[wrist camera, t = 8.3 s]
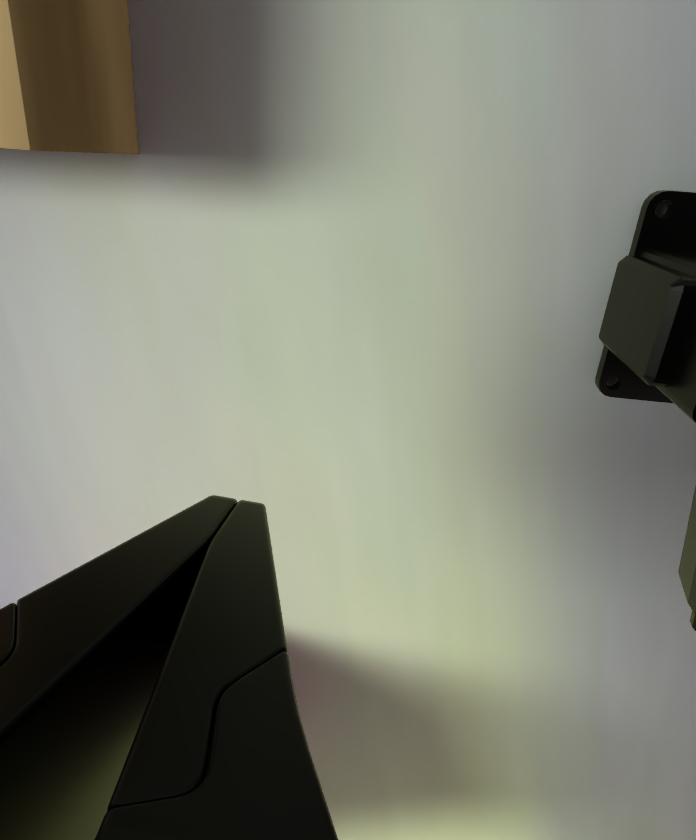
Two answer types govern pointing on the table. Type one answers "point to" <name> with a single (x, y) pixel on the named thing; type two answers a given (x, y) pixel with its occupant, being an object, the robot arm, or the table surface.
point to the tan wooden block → (66, 76)
